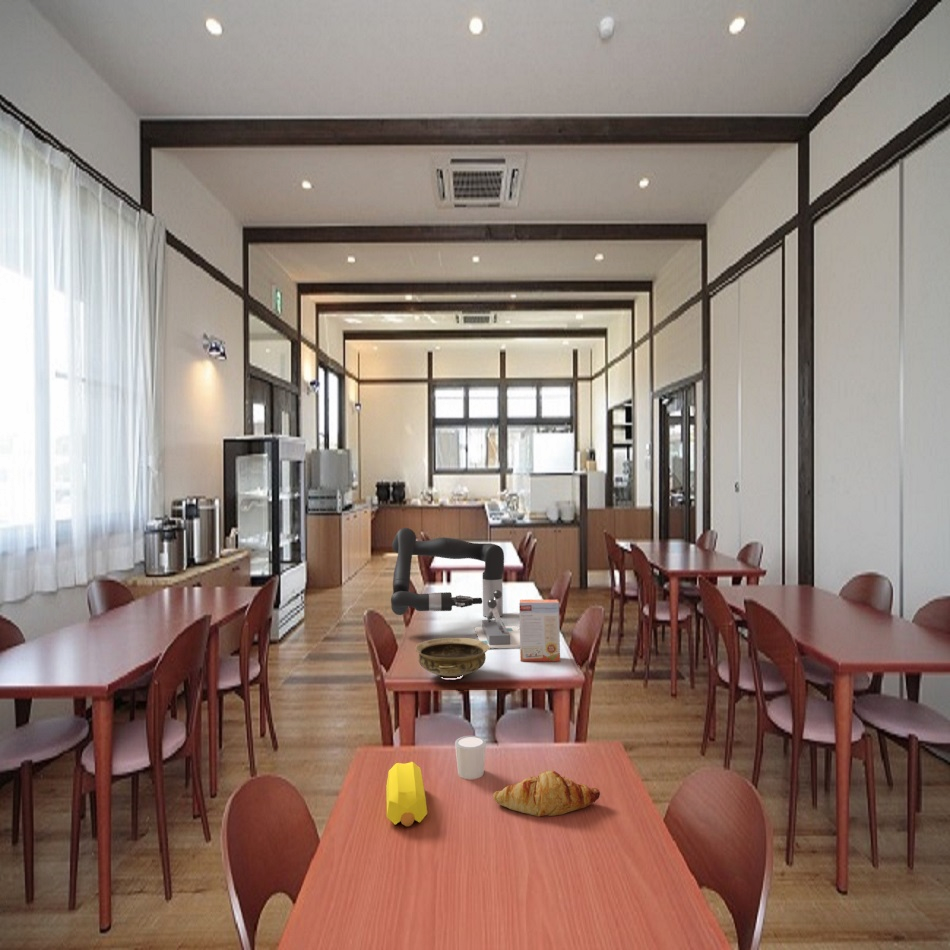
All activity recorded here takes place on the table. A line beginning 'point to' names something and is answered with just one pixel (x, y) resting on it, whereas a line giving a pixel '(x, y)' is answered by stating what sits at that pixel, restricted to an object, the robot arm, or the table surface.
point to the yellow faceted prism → (405, 794)
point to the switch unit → (498, 635)
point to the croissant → (546, 795)
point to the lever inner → (497, 595)
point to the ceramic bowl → (452, 656)
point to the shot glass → (470, 756)
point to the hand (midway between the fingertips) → (481, 600)
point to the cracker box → (539, 630)
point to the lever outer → (496, 614)
